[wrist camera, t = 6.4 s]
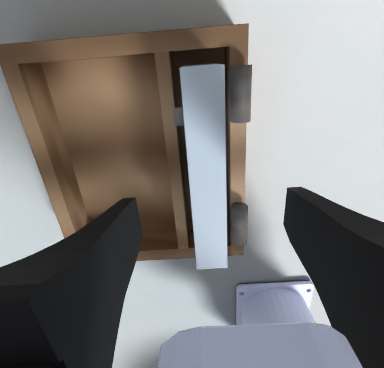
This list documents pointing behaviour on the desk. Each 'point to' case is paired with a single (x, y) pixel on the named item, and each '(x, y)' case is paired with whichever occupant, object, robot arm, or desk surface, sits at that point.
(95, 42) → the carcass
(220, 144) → the door
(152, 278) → the desk surface
